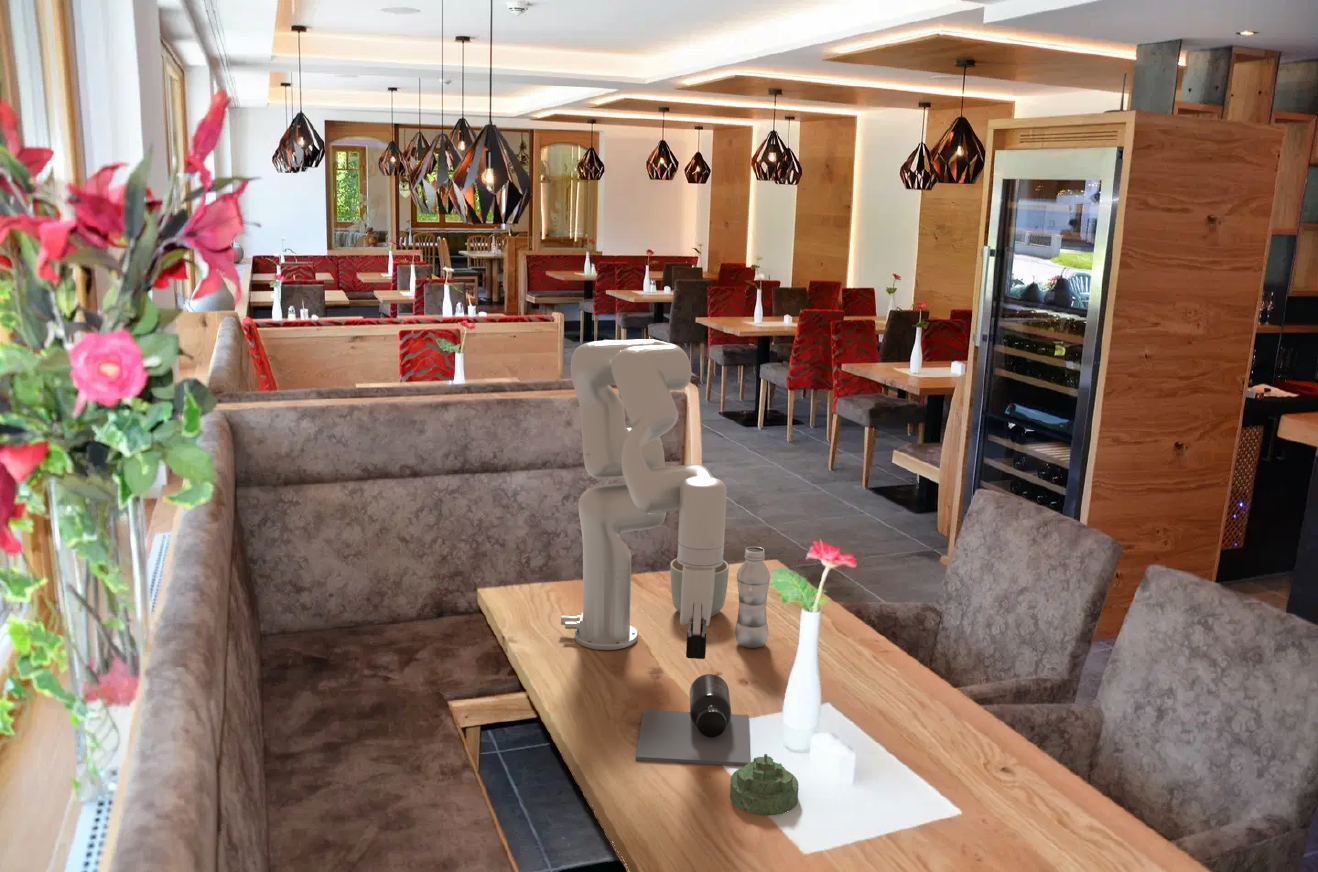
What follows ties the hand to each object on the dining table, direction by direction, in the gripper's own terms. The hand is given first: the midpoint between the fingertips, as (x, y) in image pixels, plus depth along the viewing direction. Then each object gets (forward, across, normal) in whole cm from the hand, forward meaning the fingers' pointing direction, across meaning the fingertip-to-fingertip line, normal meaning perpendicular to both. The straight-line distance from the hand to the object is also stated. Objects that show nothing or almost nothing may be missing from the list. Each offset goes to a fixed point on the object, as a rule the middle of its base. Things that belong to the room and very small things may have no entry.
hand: (695, 656), depth 178 cm
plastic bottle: (+13, -33, +10) cm, 37 cm away
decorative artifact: (+12, +22, +11) cm, 28 cm away
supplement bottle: (+8, -4, +2) cm, 9 cm away
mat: (+12, +6, 0) cm, 13 cm away
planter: (+13, -49, 0) cm, 51 cm away
